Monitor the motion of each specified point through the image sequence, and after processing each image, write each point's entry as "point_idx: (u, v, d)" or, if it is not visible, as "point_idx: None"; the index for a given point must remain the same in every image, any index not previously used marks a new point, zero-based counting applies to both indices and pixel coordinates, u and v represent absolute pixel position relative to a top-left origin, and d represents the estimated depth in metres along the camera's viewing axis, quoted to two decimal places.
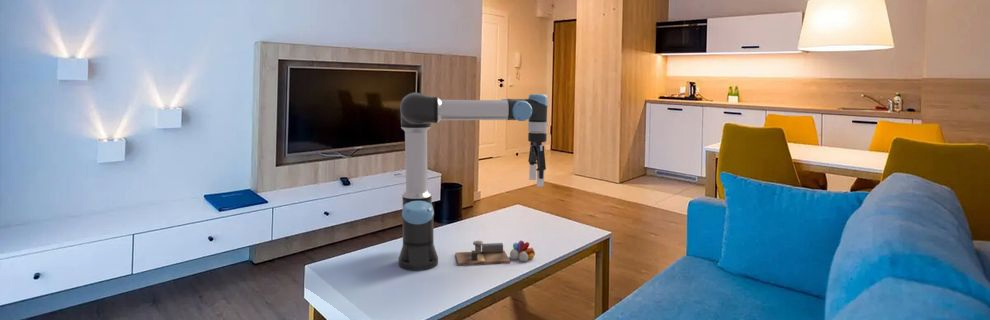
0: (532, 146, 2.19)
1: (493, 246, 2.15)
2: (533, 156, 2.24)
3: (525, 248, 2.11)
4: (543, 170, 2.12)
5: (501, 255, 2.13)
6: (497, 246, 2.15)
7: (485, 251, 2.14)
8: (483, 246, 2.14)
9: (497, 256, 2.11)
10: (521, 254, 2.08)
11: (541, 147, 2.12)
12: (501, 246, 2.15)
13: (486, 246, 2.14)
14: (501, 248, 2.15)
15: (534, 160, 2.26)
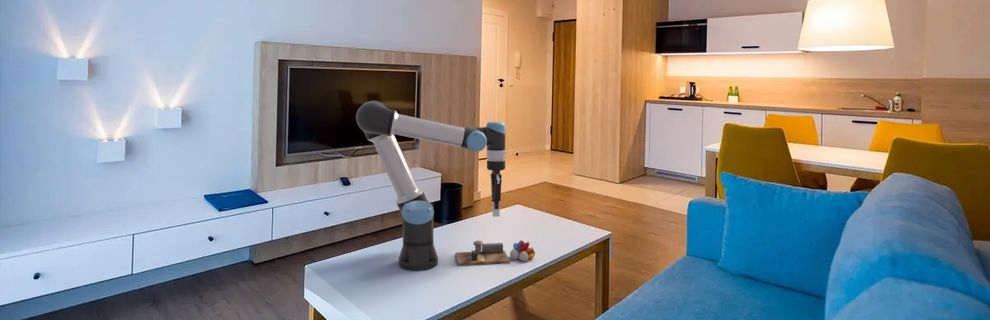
0: (491, 173, 2.19)
1: (493, 246, 2.15)
2: None
3: (525, 248, 2.11)
4: (498, 201, 2.18)
5: (501, 255, 2.13)
6: (497, 246, 2.15)
7: (485, 251, 2.14)
8: (483, 246, 2.14)
9: (497, 256, 2.11)
10: (521, 254, 2.08)
11: (498, 182, 2.13)
12: (501, 246, 2.15)
13: (486, 246, 2.14)
14: (501, 248, 2.15)
15: None
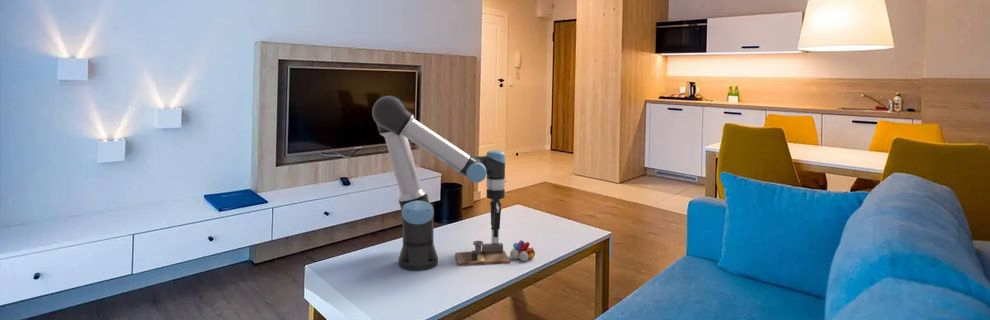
0: None
1: (493, 246, 2.15)
2: None
3: (525, 248, 2.11)
4: (497, 229, 2.20)
5: (501, 255, 2.13)
6: (497, 246, 2.15)
7: (485, 251, 2.14)
8: (483, 246, 2.14)
9: (497, 256, 2.11)
10: (521, 254, 2.08)
11: (497, 211, 2.14)
12: (501, 246, 2.15)
13: (486, 246, 2.14)
14: (501, 248, 2.15)
15: None
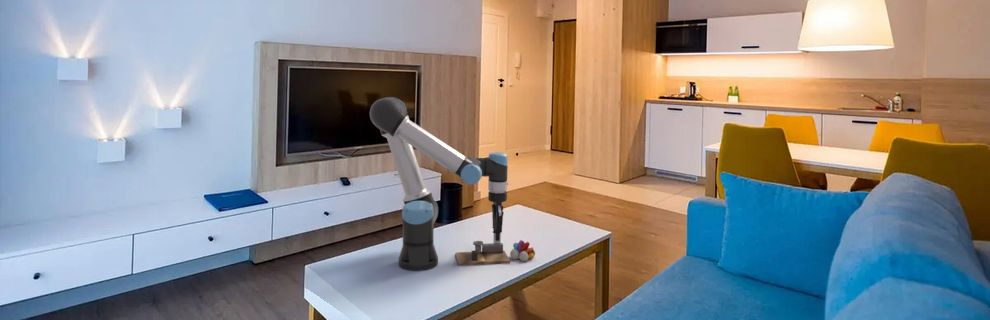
0: (492, 204, 2.16)
1: (493, 246, 2.15)
2: (495, 218, 2.17)
3: (525, 248, 2.11)
4: (499, 232, 2.15)
5: (501, 255, 2.13)
6: (497, 246, 2.15)
7: (485, 251, 2.14)
8: (483, 246, 2.14)
9: (497, 256, 2.11)
10: (521, 254, 2.08)
11: (500, 214, 2.10)
12: (501, 246, 2.15)
13: (486, 246, 2.14)
14: (501, 248, 2.15)
15: None
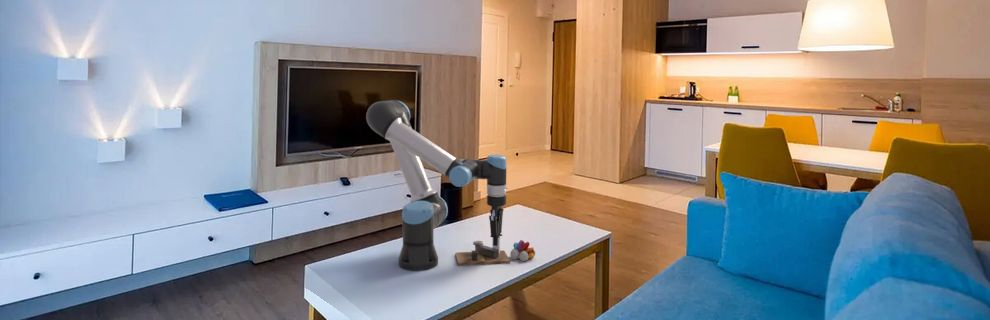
0: None
1: (487, 250, 2.10)
2: None
3: (525, 248, 2.11)
4: (496, 237, 2.08)
5: (501, 255, 2.13)
6: (490, 251, 2.09)
7: (481, 253, 2.12)
8: (479, 247, 2.13)
9: None
10: (521, 254, 2.08)
11: (492, 218, 2.03)
12: (493, 252, 2.08)
13: (481, 248, 2.12)
14: (493, 254, 2.08)
15: None
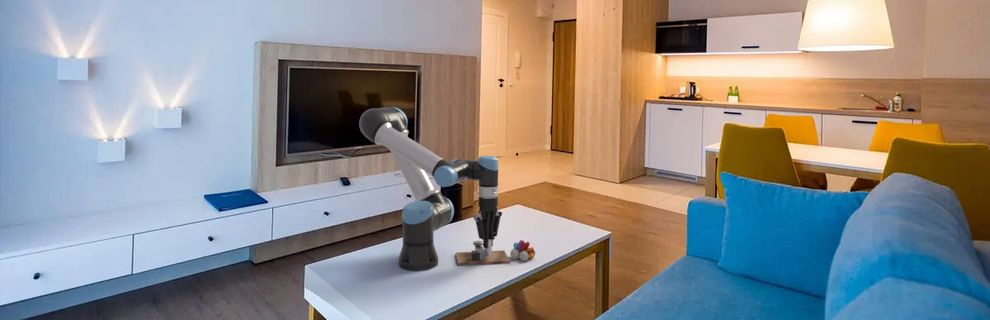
0: None
1: (477, 251, 2.09)
2: None
3: (525, 248, 2.11)
4: (485, 240, 2.05)
5: (501, 255, 2.13)
6: (478, 252, 2.07)
7: None
8: (476, 247, 2.13)
9: (497, 256, 2.11)
10: (521, 254, 2.08)
11: (476, 219, 2.02)
12: (479, 254, 2.06)
13: (476, 248, 2.11)
14: (479, 256, 2.06)
15: (490, 231, 2.07)
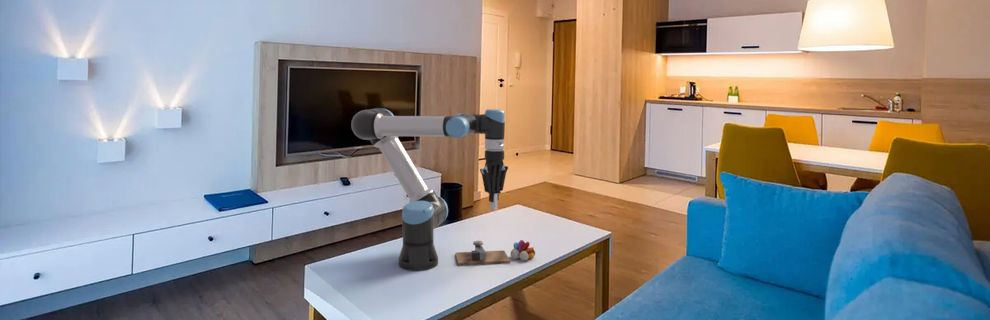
0: None
1: (477, 251, 2.09)
2: None
3: (525, 248, 2.11)
4: (491, 193, 2.05)
5: (501, 255, 2.13)
6: (478, 252, 2.07)
7: None
8: (476, 247, 2.13)
9: (497, 256, 2.11)
10: (521, 254, 2.08)
11: (482, 172, 2.02)
12: (479, 254, 2.06)
13: (476, 248, 2.11)
14: (479, 256, 2.06)
15: (496, 185, 2.07)
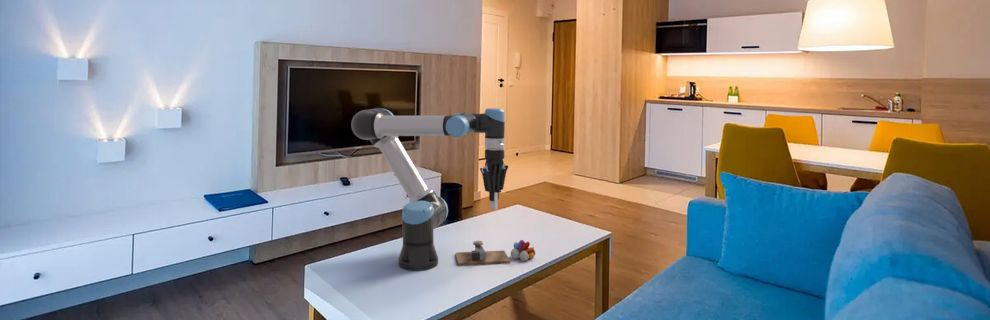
0: None
1: (477, 251, 2.09)
2: (494, 177, 2.07)
3: (525, 248, 2.11)
4: (491, 192, 2.05)
5: (501, 255, 2.13)
6: (478, 252, 2.07)
7: None
8: (476, 247, 2.13)
9: (497, 256, 2.11)
10: (522, 253, 2.08)
11: (482, 171, 2.02)
12: (479, 254, 2.06)
13: (476, 248, 2.11)
14: (479, 256, 2.06)
15: (496, 184, 2.07)
